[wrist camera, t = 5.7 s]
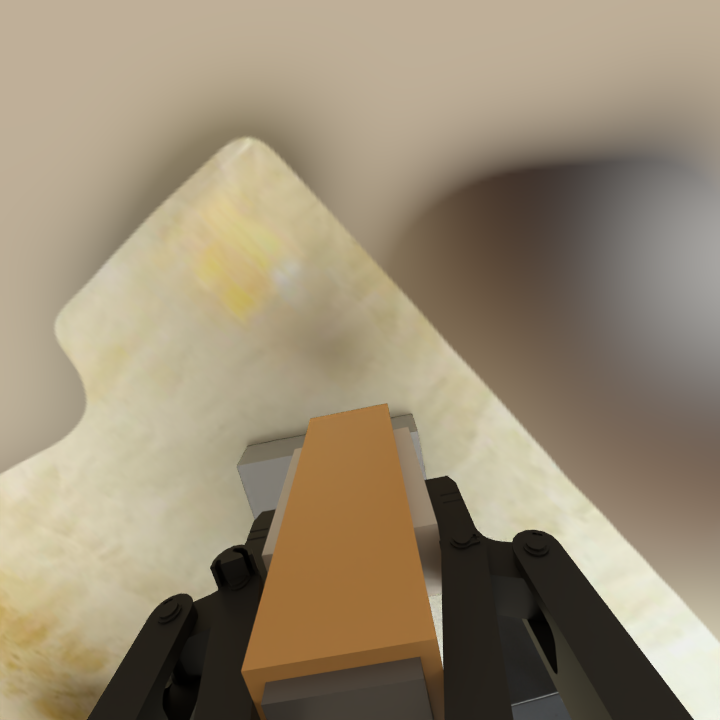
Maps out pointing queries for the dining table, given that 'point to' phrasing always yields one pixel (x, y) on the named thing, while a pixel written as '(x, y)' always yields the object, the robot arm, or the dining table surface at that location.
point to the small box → (528, 675)
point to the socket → (272, 460)
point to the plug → (346, 588)
